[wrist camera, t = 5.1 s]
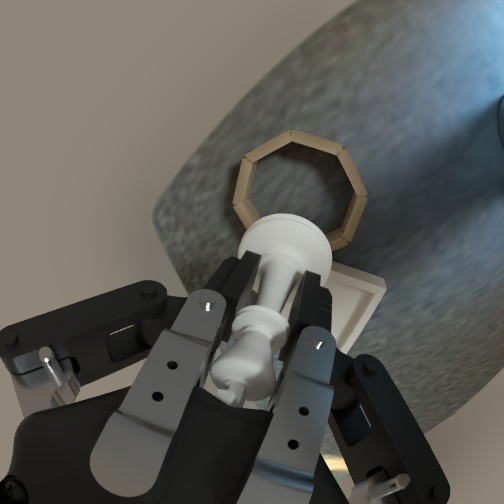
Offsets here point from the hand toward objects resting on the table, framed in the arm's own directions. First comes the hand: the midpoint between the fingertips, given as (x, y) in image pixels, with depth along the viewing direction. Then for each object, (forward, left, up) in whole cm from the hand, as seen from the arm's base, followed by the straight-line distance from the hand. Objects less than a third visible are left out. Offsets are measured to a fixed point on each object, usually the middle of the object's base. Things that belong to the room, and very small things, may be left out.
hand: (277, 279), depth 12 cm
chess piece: (0, 0, -2) cm, 2 cm away
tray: (-6, +12, -16) cm, 21 cm away
